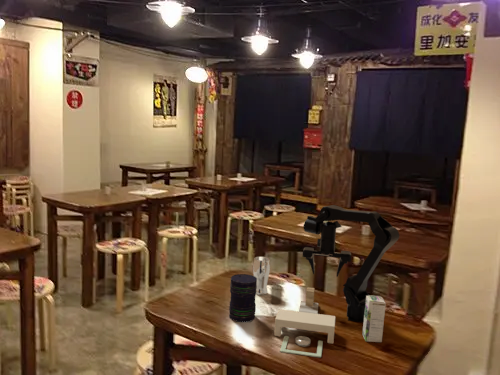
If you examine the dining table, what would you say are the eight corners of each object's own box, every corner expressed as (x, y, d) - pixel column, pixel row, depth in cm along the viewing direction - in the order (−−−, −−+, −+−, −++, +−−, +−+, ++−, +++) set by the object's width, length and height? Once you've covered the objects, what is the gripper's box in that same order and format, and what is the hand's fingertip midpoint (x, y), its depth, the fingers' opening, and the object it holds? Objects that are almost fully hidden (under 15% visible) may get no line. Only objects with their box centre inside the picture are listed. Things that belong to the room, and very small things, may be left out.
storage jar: (260, 319, 176) (262, 280, 174) (237, 324, 171) (239, 284, 169) (246, 309, 185) (248, 272, 183) (224, 314, 179) (225, 276, 177)
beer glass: (256, 296, 199) (257, 261, 197) (249, 290, 206) (251, 256, 203) (271, 294, 202) (273, 260, 200) (264, 289, 208) (265, 255, 206)
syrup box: (361, 334, 168) (365, 294, 166) (378, 335, 168) (382, 295, 166) (365, 341, 162) (368, 301, 160) (382, 342, 162) (386, 302, 160)
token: (310, 341, 161) (311, 337, 161) (309, 348, 156) (310, 344, 156) (296, 339, 162) (296, 335, 162) (294, 346, 157) (294, 341, 157)
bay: (322, 342, 160) (322, 341, 160) (321, 357, 150) (321, 356, 150) (284, 337, 163) (284, 335, 163) (279, 351, 152) (280, 350, 152)
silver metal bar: (300, 304, 193) (302, 286, 192) (318, 306, 192) (319, 288, 191) (295, 329, 170) (297, 309, 169) (315, 332, 169) (317, 311, 168)
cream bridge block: (334, 332, 169) (335, 316, 168) (333, 343, 160) (334, 326, 159) (278, 324, 172) (278, 309, 172) (274, 335, 164) (275, 319, 163)
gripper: (352, 234, 194) (349, 271, 196) (306, 230, 197) (303, 266, 200) (352, 241, 183) (349, 280, 185) (303, 236, 187) (301, 275, 189)
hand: (325, 275), depth 190 cm, fingers open, 9 cm apart
